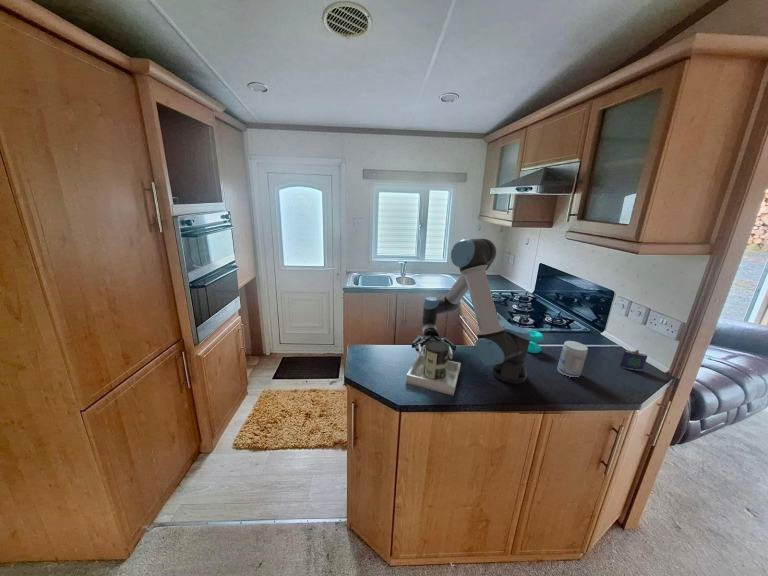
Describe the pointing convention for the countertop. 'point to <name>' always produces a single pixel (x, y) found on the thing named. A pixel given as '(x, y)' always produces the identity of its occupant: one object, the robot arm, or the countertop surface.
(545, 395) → the countertop surface
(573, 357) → the supplement tub
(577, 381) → the countertop surface
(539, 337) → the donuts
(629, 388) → the countertop surface
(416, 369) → the box
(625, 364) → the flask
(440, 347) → the coffee can
